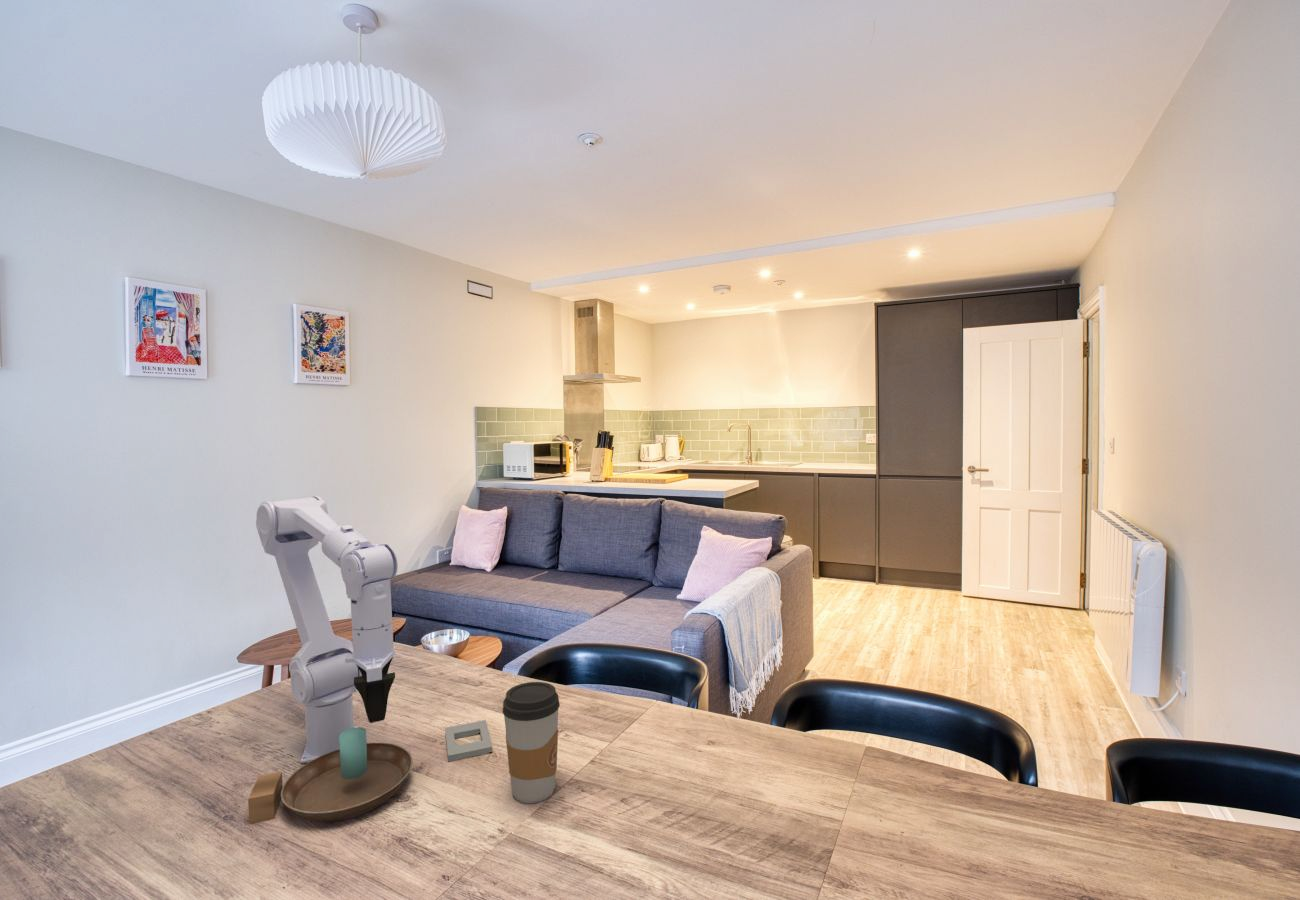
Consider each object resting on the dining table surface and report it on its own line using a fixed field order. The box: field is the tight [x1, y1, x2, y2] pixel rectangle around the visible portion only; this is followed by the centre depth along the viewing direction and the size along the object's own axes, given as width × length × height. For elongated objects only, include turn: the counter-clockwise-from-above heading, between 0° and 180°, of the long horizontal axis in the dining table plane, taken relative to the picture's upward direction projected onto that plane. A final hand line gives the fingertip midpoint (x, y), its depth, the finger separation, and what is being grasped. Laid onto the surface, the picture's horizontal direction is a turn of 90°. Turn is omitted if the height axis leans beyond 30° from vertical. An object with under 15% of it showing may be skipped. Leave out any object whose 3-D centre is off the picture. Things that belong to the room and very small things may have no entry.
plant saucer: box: [281, 742, 413, 823], centre depth 91 cm, size 18×18×3 cm
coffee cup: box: [502, 681, 560, 804], centre depth 90 cm, size 8×8×15 cm
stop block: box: [247, 770, 284, 824], centre depth 88 cm, size 6×3×4 cm, turn 21°
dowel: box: [339, 726, 367, 779], centre depth 91 cm, size 4×4×6 cm
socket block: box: [445, 719, 493, 762], centre depth 105 cm, size 10×7×1 cm
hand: (376, 710), depth 95 cm, fingers open, 7 cm apart
